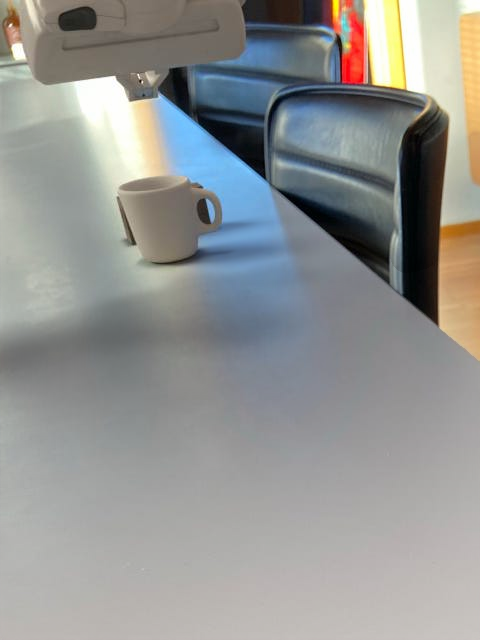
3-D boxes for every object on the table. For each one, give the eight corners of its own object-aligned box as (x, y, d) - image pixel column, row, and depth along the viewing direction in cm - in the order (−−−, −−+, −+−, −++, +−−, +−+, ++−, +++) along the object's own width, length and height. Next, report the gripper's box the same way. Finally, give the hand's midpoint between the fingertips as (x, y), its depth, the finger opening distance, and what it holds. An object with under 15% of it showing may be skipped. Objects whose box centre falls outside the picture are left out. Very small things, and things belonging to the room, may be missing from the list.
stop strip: (132, 244, 123) (120, 201, 121) (127, 239, 126) (115, 196, 123) (212, 228, 127) (203, 186, 124) (206, 224, 129) (196, 182, 126)
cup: (233, 241, 121) (218, 169, 116) (227, 260, 114) (211, 184, 110) (142, 251, 120) (123, 179, 116) (131, 271, 114) (110, 195, 109)
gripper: (235, -65, 92) (230, 54, 105) (1, -42, 86) (26, 81, 98) (260, -7, 92) (252, 105, 104) (25, 21, 85) (48, 137, 98)
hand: (141, 94), depth 101 cm, fingers closed
